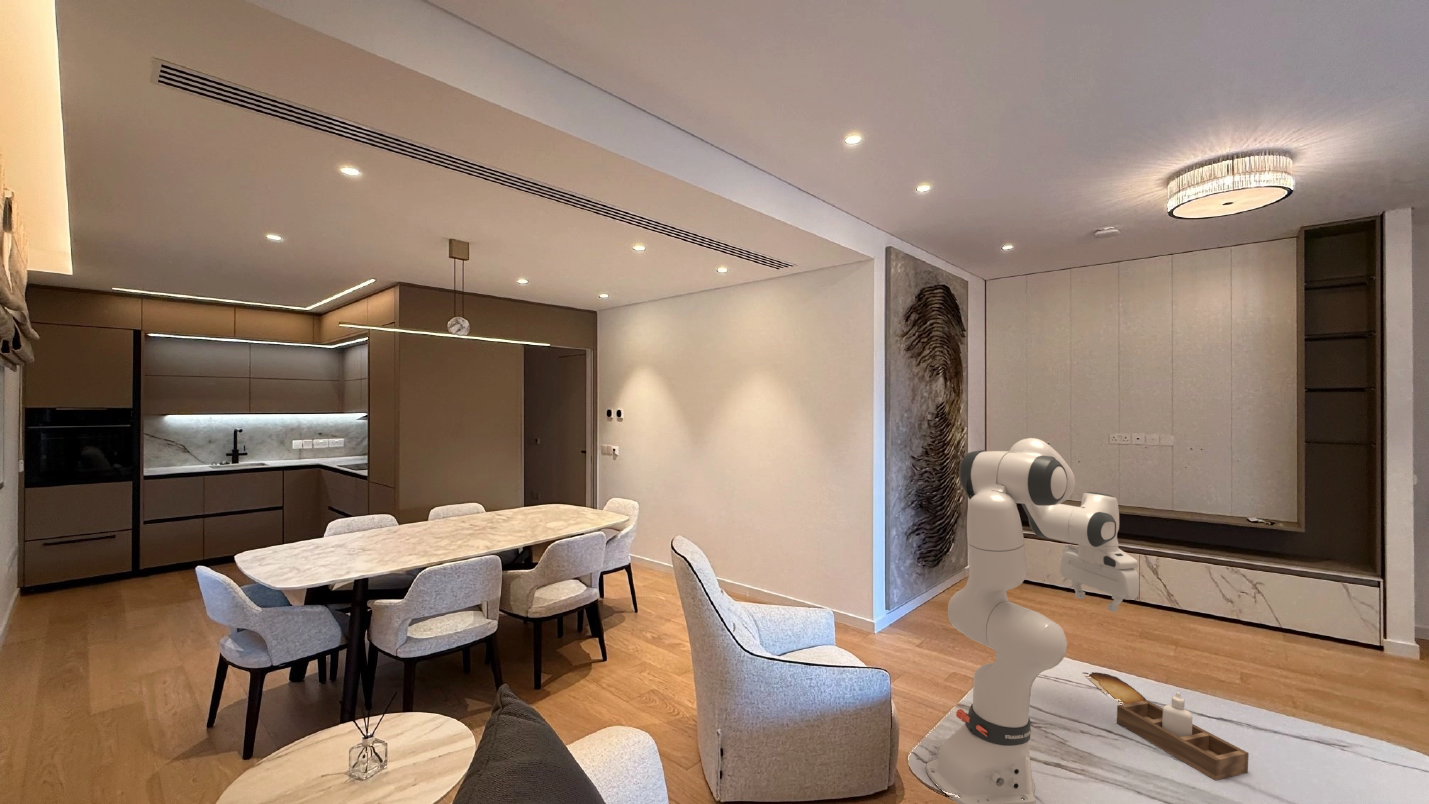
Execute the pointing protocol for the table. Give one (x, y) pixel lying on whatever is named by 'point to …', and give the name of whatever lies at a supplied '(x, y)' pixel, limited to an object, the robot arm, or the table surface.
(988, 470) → the robot arm
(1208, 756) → the slot rack
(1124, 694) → the parchment
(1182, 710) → the eye dropper bottle
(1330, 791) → the table surface
